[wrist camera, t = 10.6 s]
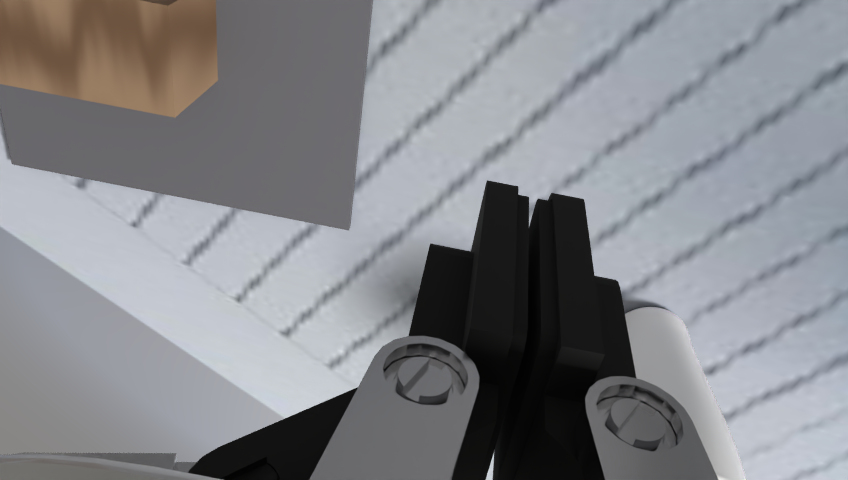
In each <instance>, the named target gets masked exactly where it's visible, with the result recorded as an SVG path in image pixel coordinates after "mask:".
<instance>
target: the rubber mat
mask: <svg viewBox="0 0 848 480" xmlns="http://www.w3.org/2000/svg"><path fill="white" fill-rule="evenodd" d="M372 4H373V0H216V26H217V68H218V81H217V82H216V83H215V84H213V85H212V86H211V87H210V88H209V89H208V90H206V91H205V92H204V93H203V94H202V95H201V96H199V97H198V98H197V99H196V100H195V101H194V102H193V103H191V104H190V105H189V106H188V107H187V108H186V109H184V110H183V111H182V112H181V113H180V114H179V115H178V116H176V117H175V118H174V117H169V116H164V115H159V114H153V113H148V112H143V111H138V110H133V109H127V108H122V107H117V106H112V105H107V104H102V103H96V102H91V101H86V100H81V99H76V98H70V97H65V96H60V95H55V94H50V93H44V92H39V91H34V90H29V89H24V88H18V87H13V86H8V85H3V84H0V110H1V114H2V119H3V124H4V129H5V133H6V138H7V143H8V147H9V152H10V157H11V162H12V164H14V165H19V166H24V167H29V168H34V169H39V170H45V171H50V172H55V173H60V174H65V175H70V176H75V177H80V178H85V179H90V180H95V181H100V182H106V183H111V184H116V185H121V186H126V187H131V188H136V189H141V190H146V191H151V192H156V193H162V194H167V195H172V196H177V197H182V198H187V199H192V200H197V201H202V202H207V203H212V204H217V205H223V206H228V207H233V208H238V209H243V210H248V211H253V212H258V213H263V214H268V215H273V216H279V217H284V218H289V219H294V220H299V221H304V222H309V223H314V224H319V225H324V226H329V227H335V228H340V229H345V230H349V228H350V223H351V213H352V204H353V194H354V184H355V174H356V164H357V154H358V144H359V134H360V124H361V114H362V104H363V94H364V84H365V74H366V64H367V54H368V44H369V34H370V24H371V14H372Z"/></svg>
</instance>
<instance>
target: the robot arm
mask: <svg viewBox="0 0 848 480" xmlns="http://www.w3.org/2000/svg"><path fill="white" fill-rule="evenodd" d="M494 450H495V451H494ZM493 453H494V468H493V480H718V478H717V475H716V473H715V471H714V469H713V466H712V464H711V462H710V460H709V457H708V455H707V453H706V451H705V448H704V446H703V444H702V441H701V439H700V437H699V435H698V432H697V430H696V428H695V426H694V423H693V421H692V419H691V418H690V416H689V415H688V413H687V411H686V410H685V408H684V407H683V406H682V405H681V404H680V403H679V402H678V401H677V400H676V399H675V398H674V397H673V396H672V395H670V394H668V393H667V392H665V391H664V390H662V389H661V388H659V387H658V386H656V385H653V384H651V383H648V382H646V381H644V380H641V379H637V378H636V373H635V367H634V362H633V356H632V351H631V345H630V340H629V334H628V329H627V324H626V318H625V313H624V307H623V302H622V296H621V291H620V286H619V283H618V282H617V281H616V280H613V279H608V278H603V277H598V276H594V270H593V262H592V255H591V247H590V240H589V232H588V225H587V217H586V210H585V202H584V199H580V198H575V197H570V196H565V195H560V194H554V193H551V195H550V197H549V200H548V201H547V200H542V199H538V200H537V202H536V205H535V208H534V212H533V215H532V219H531V223H530V226H529V197H527V196H521V195H518V186H513V185H508V184H502V183H497V182H492V181H487V183H486V186H485V191H484V195H483V200H482V204H481V209H480V213H479V218H478V222H477V227H476V231H475V236H474V240H473V245H472V249H471V252H470V251H465V250H460V249H455V248H450V247H445V246H440V245H435V244H430V247H429V251H428V255H427V260H426V264H425V268H424V272H423V277H422V281H421V285H420V290H419V294H418V298H417V302H416V307H415V311H414V315H413V319H412V324H411V328H410V332H409V336H407V337H403V338H399V339H395V340H393V341H391V342H390V343H388V344H386V345H385V346H383V347H382V348H381V349H380V350H379V352H378V353H377V354H376V355H375V356H374V358H373V360H372V362H371V364H370V366H369V368H368V370H367V372H366V373H365V375H364V377H363V379H362V381H361V383H360V385H359V387H358V388H355V389H353V390H351V391H348V392H346V393H344V394H341V395H339V396H337V397H334V398H332V399H330V400H327V401H325V402H323V403H320V404H318V405H316V406H313V407H311V408H309V409H306V410H304V411H302V412H299V413H297V414H295V415H292V416H290V417H288V418H285V419H283V420H281V421H279V422H276V423H274V424H272V425H269V426H267V427H265V428H262V429H260V430H258V431H255V432H253V433H251V434H248V435H246V436H244V437H242V438H239V439H237V440H235V441H232V442H230V443H227V444H225V445H223V446H220V447H218V448H217V449H215V450H213V451H211V452H210V453H208V454H206V455H205V456H203V457H202V458H201V459H200V460H199V461H198V462H177V456H176V453H172V454H171V453H170V454H169V453H164V454H163V453H18V454H11V455H10V454H9V455H8V454H7V455H0V480H485V479H486V476H487V473H488V469H489V466H490V463H491V460H492V456H493Z"/></svg>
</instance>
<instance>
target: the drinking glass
mask: <svg viewBox="0 0 848 480" xmlns="http://www.w3.org/2000/svg"><path fill="white" fill-rule="evenodd" d="M625 318H626V324H627V329H628V334H629V340H630V345H631V351H632V356H633V362H634V367H635V373H636V378H637V379H641V380H644V381H646V382H648V383H651V384H653V385H656V386H658V387H659V388H661V389H662V390H664V391H665V392H667V393H668V394H670V395H672V396H673V397H674V398H675V399H676V400H677V401H678V402H679V403H680V404H681V405H682V406H683V407H684V408H685V410H686V411H687V413H688V415H689V416H690V418H691V419H692V421H693V423H694V426H695V428H696V430H697V432H698V435H699V437H700V439H701V441H702V444H703V446H704V448H705V451H706V453H707V455H708V457H709V460H710V462H711V464H712V466H713V469H714V471H715V473H716V475H717V478H718V480H747V479H746V475H745V472H744V468H743V465H742V462H741V459H740V456H739V453H738V450H737V447H736V444H735V442H734V439H733V437H732V434H731V432H730V430H729V427H728V425H727V423H726V420H725V418H724V416H723V414H722V411H721V409H720V407H719V405H718V403H717V400H716V398H715V396H714V394H713V391H712V389H711V387H710V385H709V382H708V380H707V378H706V375H705V373H704V371H703V369H702V366H701V364H700V362H699V359H698V357H697V355H696V352H695V350H694V348H693V345H692V342H691V339H690V336H689V332H688V330H687V327H686V325H685V324H684V322H683V321H682V320H681V319H680V318H679V317H678V316H677V315H676V314H674V313H673V312H671V311H668V310H666V309H663V308H658V307H643V308H638V309H634V310H632V311H630V312H628V313H626V314H625Z"/></svg>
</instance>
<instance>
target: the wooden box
mask: <svg viewBox="0 0 848 480" xmlns="http://www.w3.org/2000/svg"><path fill="white" fill-rule="evenodd" d="M217 81H218V68H217V26H216V0H0V84H3V85H8V86H13V87H18V88H24V89H29V90H34V91H39V92H44V93H50V94H55V95H60V96H65V97H70V98H76V99H81V100H86V101H91V102H96V103H102V104H107V105H112V106H117V107H122V108H127V109H133V110H138V111H143V112H148V113H153V114H159V115H164V116H169V117H174V118H175V117H176V116H178V115H179V114H180V113H181V112H182V111H183V110H184V109H186V108H187V107H188V106H189V105H190V104H191V103H193V102H194V101H195V100H196V99H197V98H198V97H199V96H201V95H202V94H203V93H204V92H205V91H206V90H208V89H209V88H210V87H211V86H212V85H213V84H215V83H216V82H217Z"/></svg>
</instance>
